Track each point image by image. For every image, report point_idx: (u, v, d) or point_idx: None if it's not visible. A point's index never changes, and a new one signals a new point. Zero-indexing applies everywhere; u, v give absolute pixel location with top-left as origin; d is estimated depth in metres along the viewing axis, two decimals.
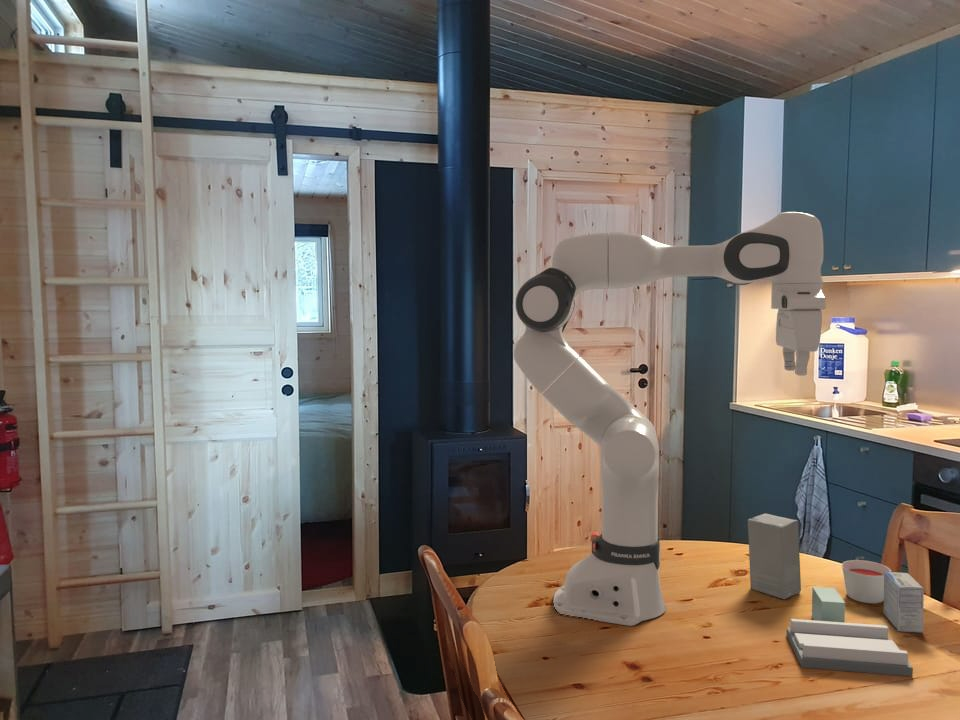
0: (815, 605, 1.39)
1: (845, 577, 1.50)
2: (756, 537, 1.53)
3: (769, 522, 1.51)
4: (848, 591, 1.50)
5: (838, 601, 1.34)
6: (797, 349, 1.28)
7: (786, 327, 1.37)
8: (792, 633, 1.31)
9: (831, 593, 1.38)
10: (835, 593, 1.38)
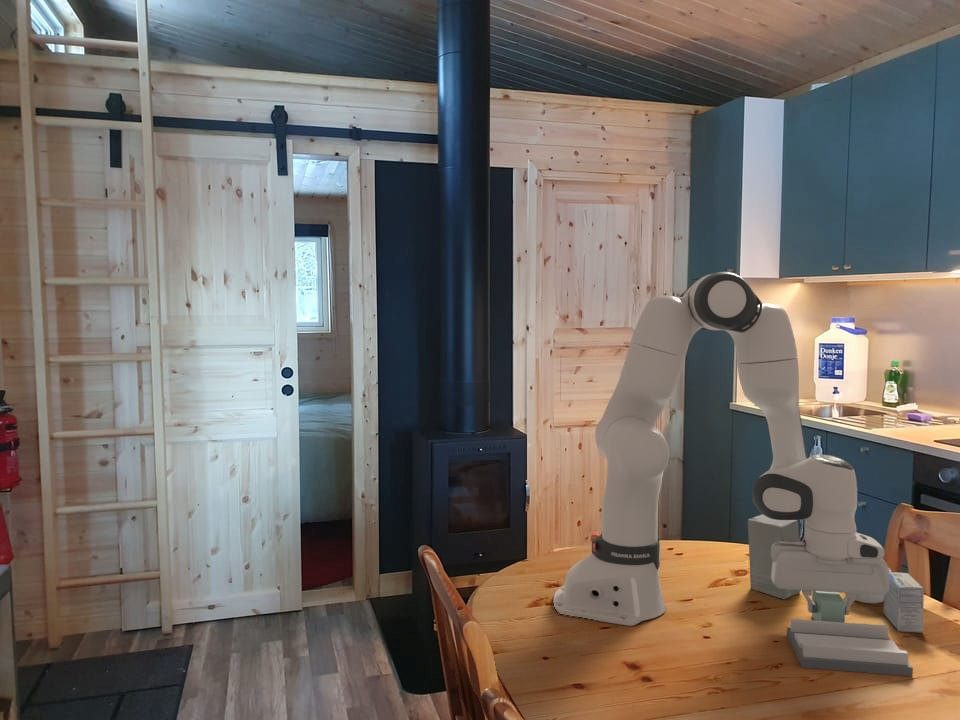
0: None
1: None
2: (756, 537, 1.53)
3: (769, 522, 1.51)
4: None
5: (838, 601, 1.34)
6: (885, 593, 1.34)
7: (829, 571, 1.35)
8: (792, 633, 1.31)
9: (831, 592, 1.38)
10: (835, 593, 1.38)
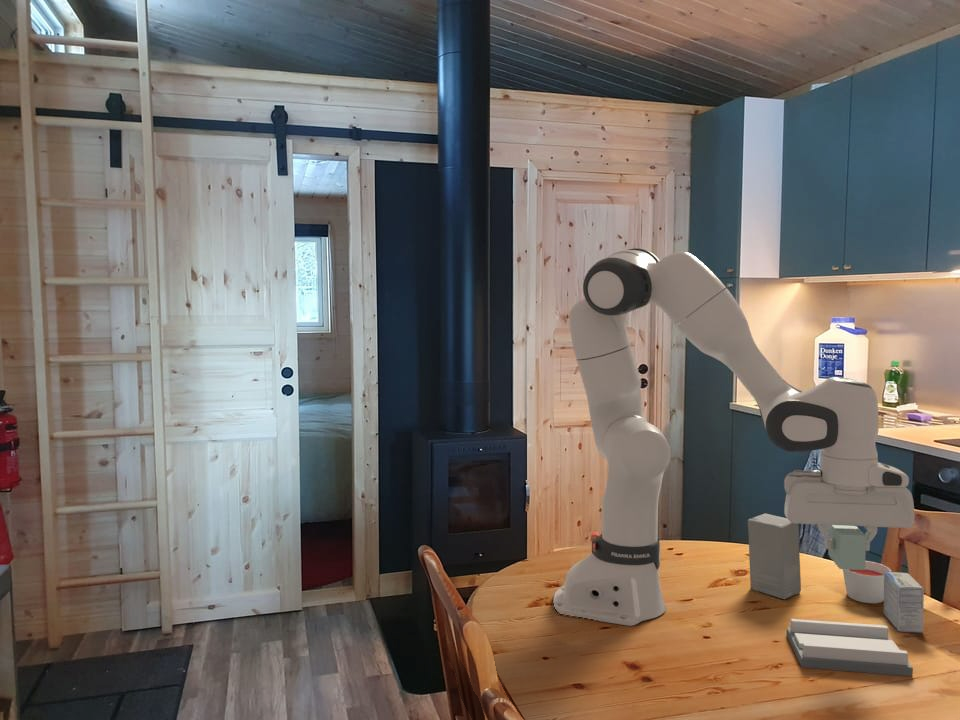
0: None
1: (845, 577, 1.50)
2: (756, 537, 1.53)
3: (769, 522, 1.51)
4: (848, 591, 1.50)
5: (858, 534, 1.23)
6: (909, 526, 1.22)
7: (849, 503, 1.24)
8: (792, 633, 1.31)
9: (850, 527, 1.27)
10: (854, 527, 1.27)
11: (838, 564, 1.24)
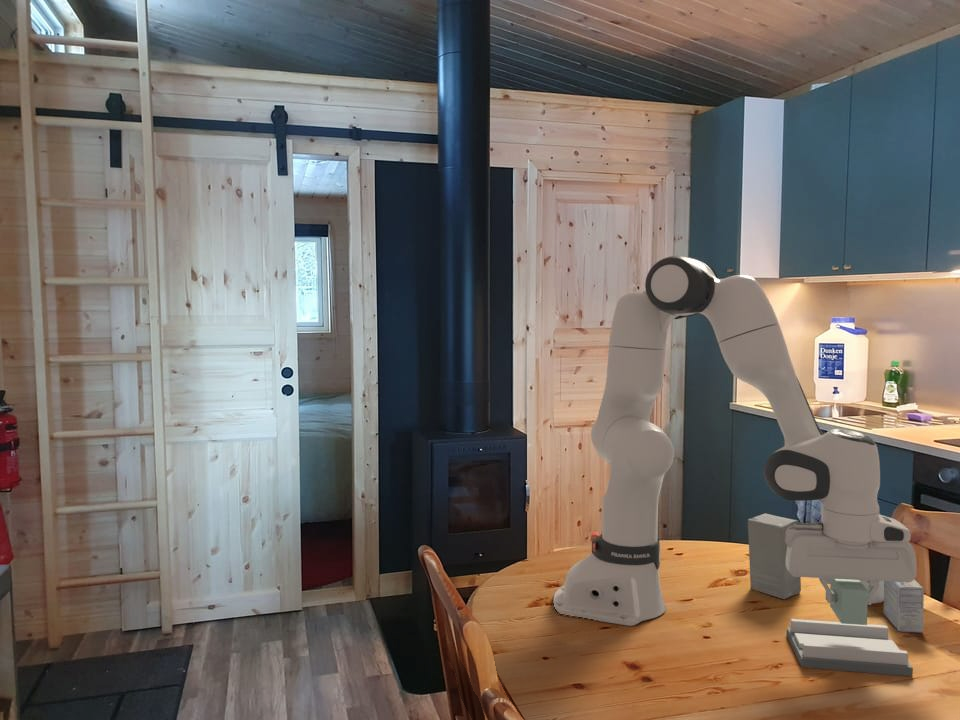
0: None
1: None
2: (756, 537, 1.53)
3: (769, 522, 1.51)
4: None
5: (860, 589, 1.22)
6: (911, 580, 1.22)
7: (850, 557, 1.23)
8: (792, 633, 1.31)
9: (852, 580, 1.26)
10: (856, 580, 1.26)
11: (839, 618, 1.24)
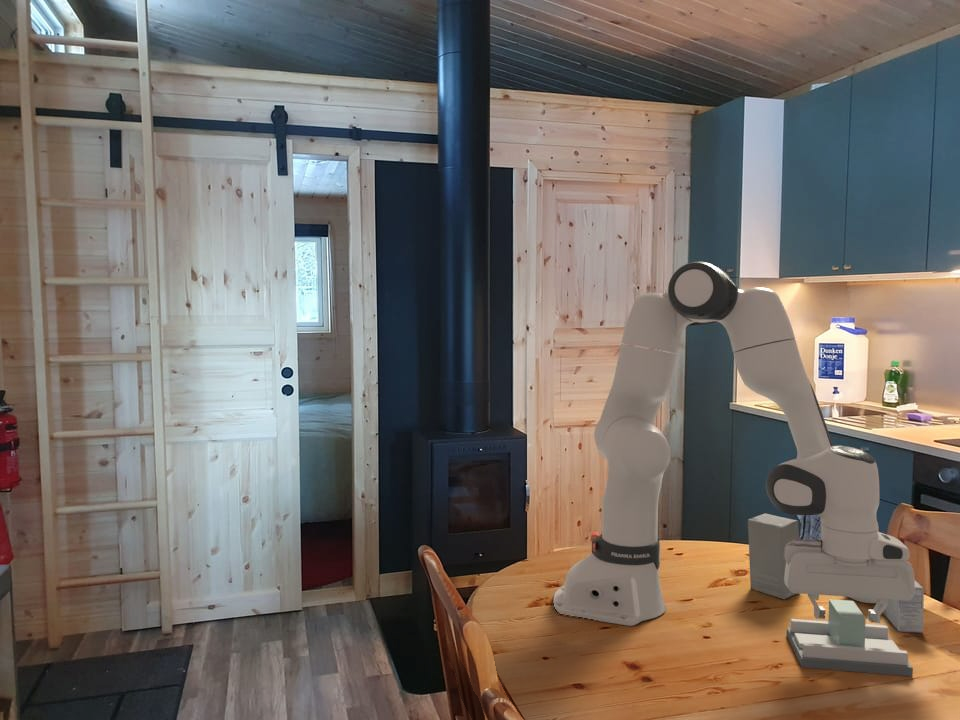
0: (832, 619, 1.27)
1: None
2: (756, 537, 1.53)
3: (769, 523, 1.51)
4: None
5: (858, 616, 1.22)
6: (909, 599, 1.22)
7: (849, 574, 1.23)
8: (792, 633, 1.31)
9: (850, 606, 1.26)
10: (854, 606, 1.26)
11: (837, 644, 1.24)
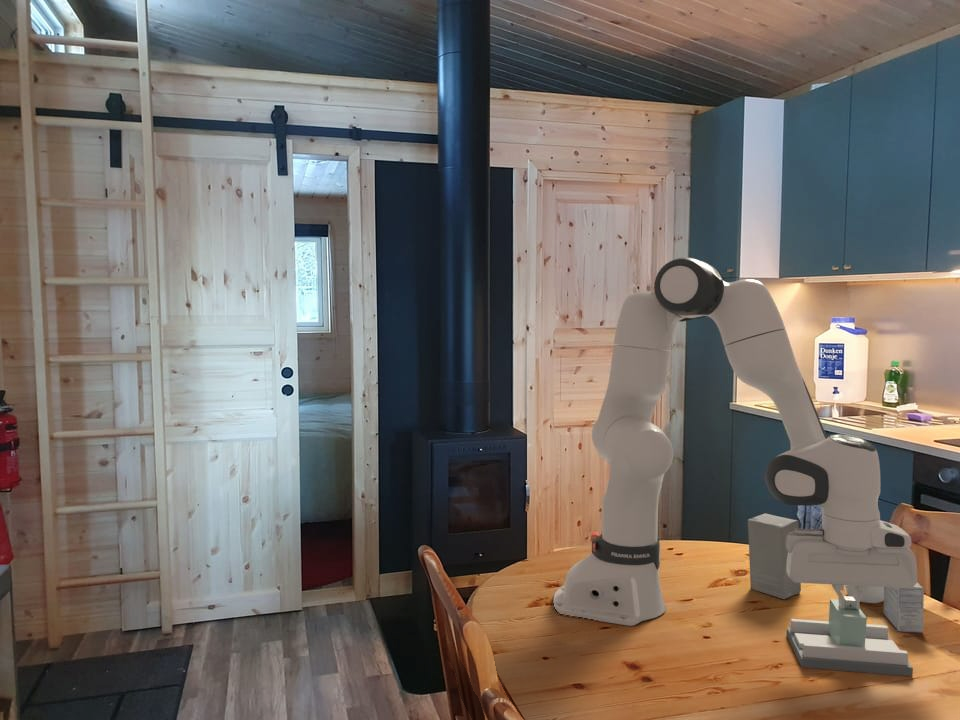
0: (833, 619, 1.27)
1: None
2: (756, 537, 1.53)
3: (769, 522, 1.51)
4: (848, 591, 1.50)
5: (859, 616, 1.22)
6: (912, 586, 1.22)
7: (851, 563, 1.23)
8: (792, 633, 1.31)
9: None
10: None
11: (837, 644, 1.24)
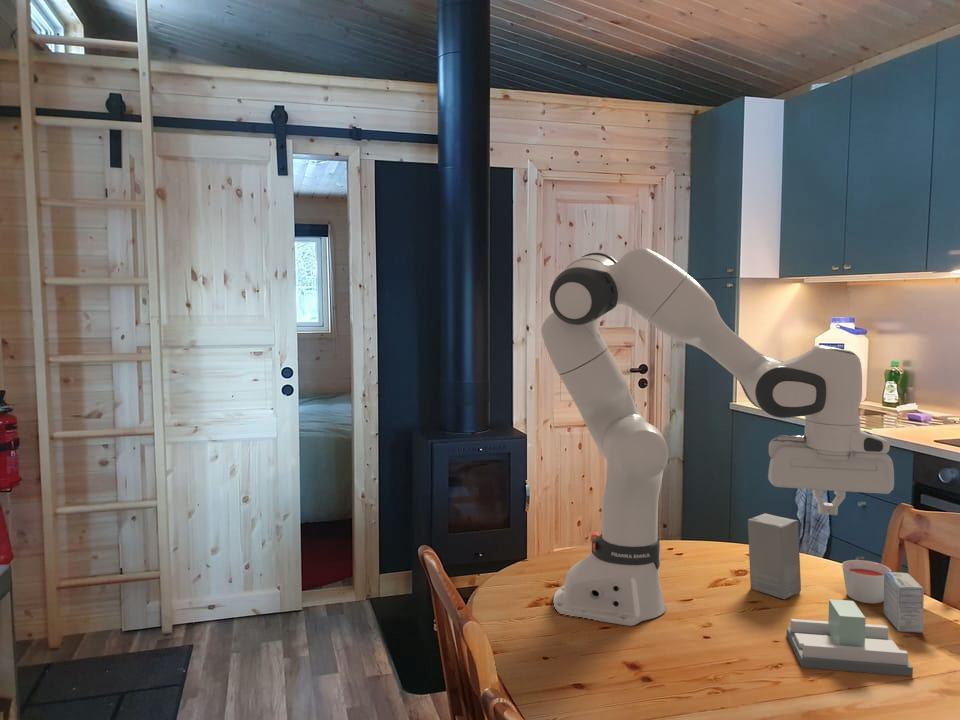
0: (832, 619, 1.27)
1: (844, 577, 1.50)
2: (756, 537, 1.53)
3: (769, 522, 1.51)
4: (848, 591, 1.50)
5: (858, 616, 1.22)
6: (889, 492, 1.25)
7: (830, 468, 1.27)
8: (792, 633, 1.31)
9: (850, 606, 1.26)
10: (854, 606, 1.26)
11: (837, 644, 1.24)
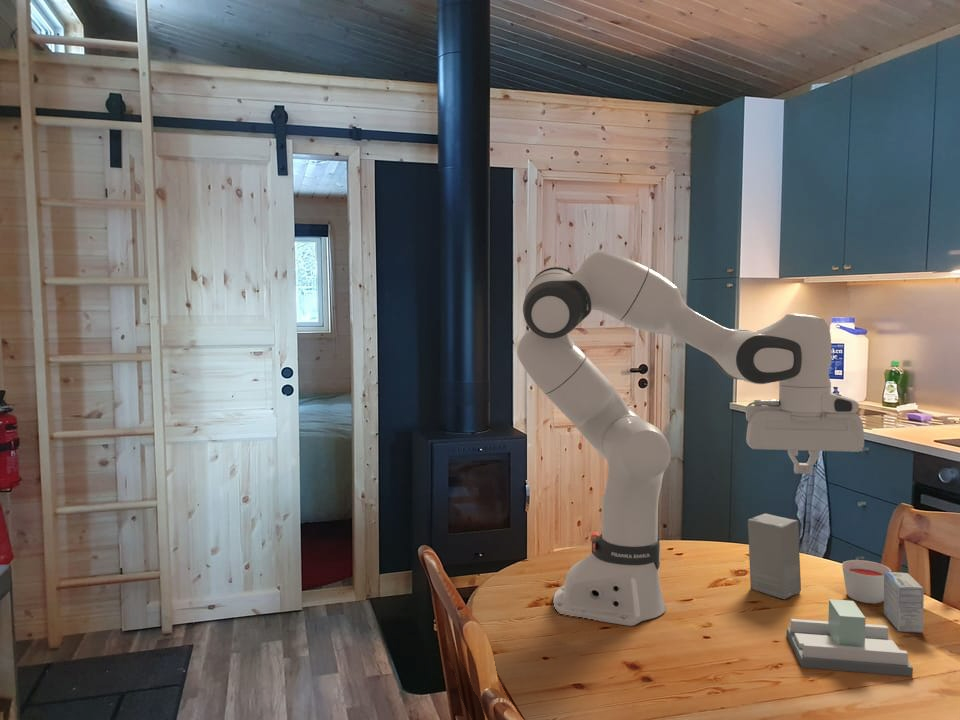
0: (832, 619, 1.27)
1: (844, 577, 1.50)
2: (756, 537, 1.53)
3: (769, 522, 1.51)
4: (848, 591, 1.50)
5: (858, 616, 1.22)
6: (859, 450, 1.33)
7: (804, 429, 1.34)
8: (792, 633, 1.31)
9: (850, 606, 1.26)
10: (854, 606, 1.26)
11: (837, 644, 1.24)
